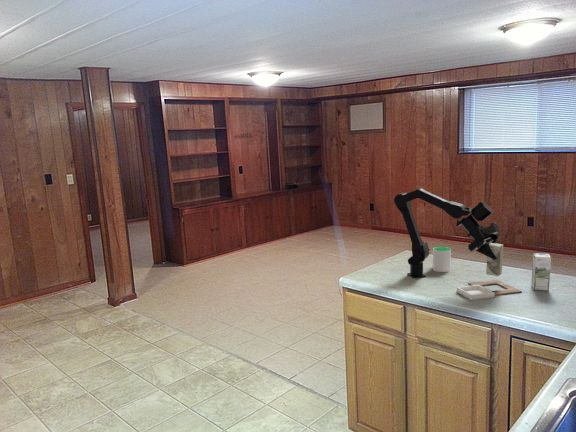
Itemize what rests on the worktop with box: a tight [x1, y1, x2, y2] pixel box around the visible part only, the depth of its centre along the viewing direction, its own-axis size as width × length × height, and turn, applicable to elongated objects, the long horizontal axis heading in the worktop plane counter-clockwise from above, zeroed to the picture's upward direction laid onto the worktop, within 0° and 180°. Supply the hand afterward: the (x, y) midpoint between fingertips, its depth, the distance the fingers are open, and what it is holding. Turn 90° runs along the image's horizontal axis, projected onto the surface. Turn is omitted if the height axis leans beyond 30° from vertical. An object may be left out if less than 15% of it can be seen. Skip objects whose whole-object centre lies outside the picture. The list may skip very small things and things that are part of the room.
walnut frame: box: [467, 279, 523, 297], centre depth 194 cm, size 16×14×1 cm
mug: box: [432, 246, 452, 273], centre depth 224 cm, size 12×8×10 cm, turn 177°
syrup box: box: [530, 252, 552, 292], centre depth 190 cm, size 6×6×14 cm
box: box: [485, 243, 504, 277], centre depth 192 cm, size 5×4×13 cm
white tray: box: [456, 285, 495, 301], centre depth 186 cm, size 10×10×2 cm
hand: (498, 258), depth 190 cm, fingers closed on box, 4 cm apart
